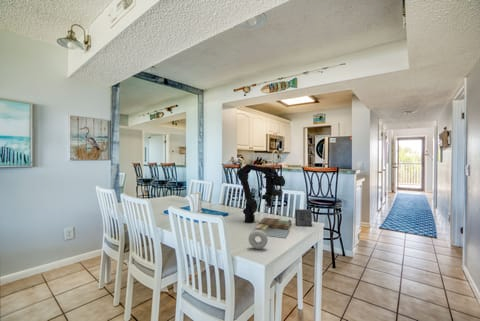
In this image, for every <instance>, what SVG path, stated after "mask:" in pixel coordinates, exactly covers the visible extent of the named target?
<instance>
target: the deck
mask: <svg viewBox="0 0 480 321" xmlns="http://www.w3.org/2000/svg"><path fill="white" fill-rule="evenodd" d="M279 219H280V218H273V217H272V218H271V217H263V218H262V219H261V220H260V221H258V225H260V224H264V225H269V228H272V229H281V230H289V231H290V228H291V226H292V220H291V219H290V221H289V223H288V224H283V223H279Z"/></svg>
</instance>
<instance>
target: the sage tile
mask: <svg viewBox="0 0 480 321" xmlns="http://www.w3.org/2000/svg"><path fill="white" fill-rule="evenodd" d="M278 219H279V223H283V224H288V223H289V221H290V220H291V219H290V218H289V217H280V218H278Z"/></svg>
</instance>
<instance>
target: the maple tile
mask: <svg viewBox="0 0 480 321" xmlns="http://www.w3.org/2000/svg"><path fill="white" fill-rule="evenodd" d="M255 228H256V230H261V231H266V230H267V229H268V228H269V225H264V224H260V225H259V224H258V225H257V226H256V227H255Z"/></svg>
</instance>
